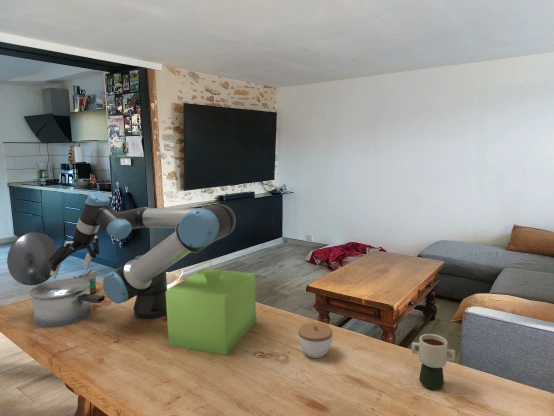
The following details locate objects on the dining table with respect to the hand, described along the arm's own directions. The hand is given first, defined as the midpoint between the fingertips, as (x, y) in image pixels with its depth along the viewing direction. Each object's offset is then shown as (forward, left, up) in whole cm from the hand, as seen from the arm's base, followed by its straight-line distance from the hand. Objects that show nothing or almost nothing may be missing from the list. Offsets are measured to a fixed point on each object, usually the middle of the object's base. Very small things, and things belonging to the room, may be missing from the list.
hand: (69, 271), depth 153 cm
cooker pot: (-2, +3, -18) cm, 18 cm away
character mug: (-134, +9, -18) cm, 135 cm away
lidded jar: (-100, +2, -18) cm, 101 cm away
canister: (-63, -1, -18) cm, 65 cm away
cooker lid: (+14, +3, +5) cm, 15 cm away
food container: (+10, -19, -18) cm, 28 cm away
